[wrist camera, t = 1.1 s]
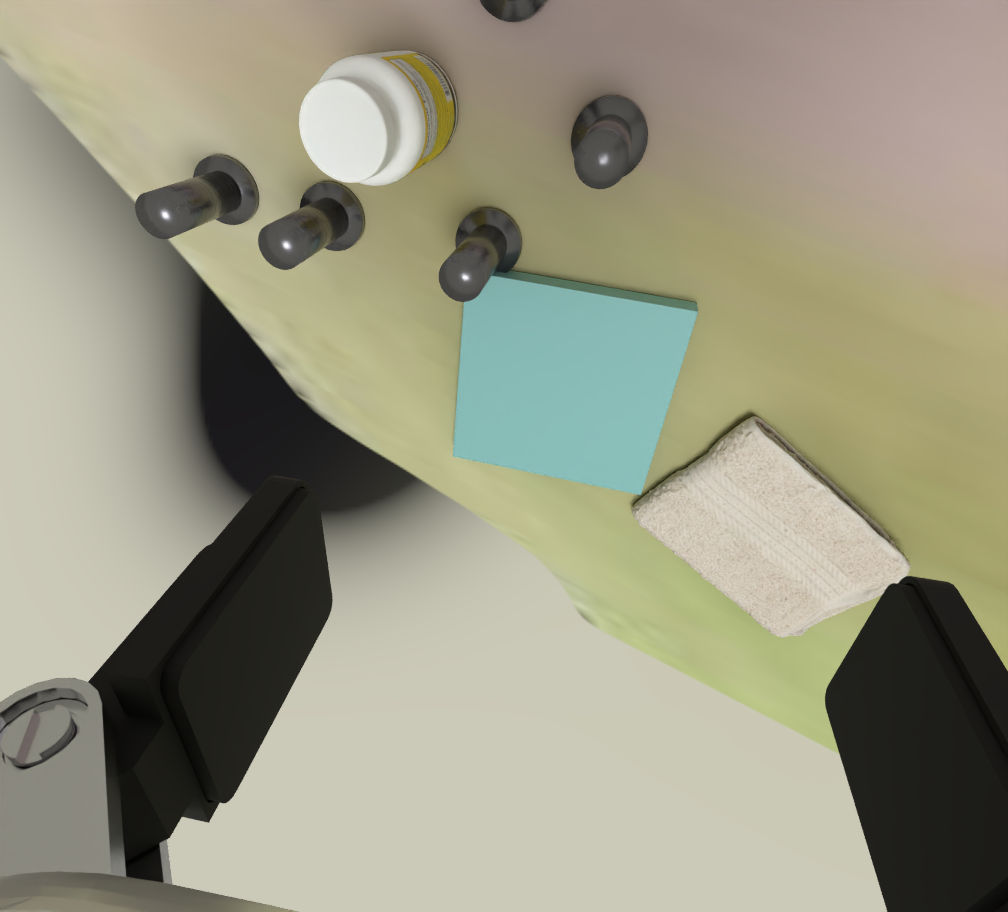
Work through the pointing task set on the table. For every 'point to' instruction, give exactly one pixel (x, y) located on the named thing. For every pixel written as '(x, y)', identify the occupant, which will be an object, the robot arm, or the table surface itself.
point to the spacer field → (339, 215)
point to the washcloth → (771, 531)
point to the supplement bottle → (378, 116)
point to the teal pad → (568, 378)
